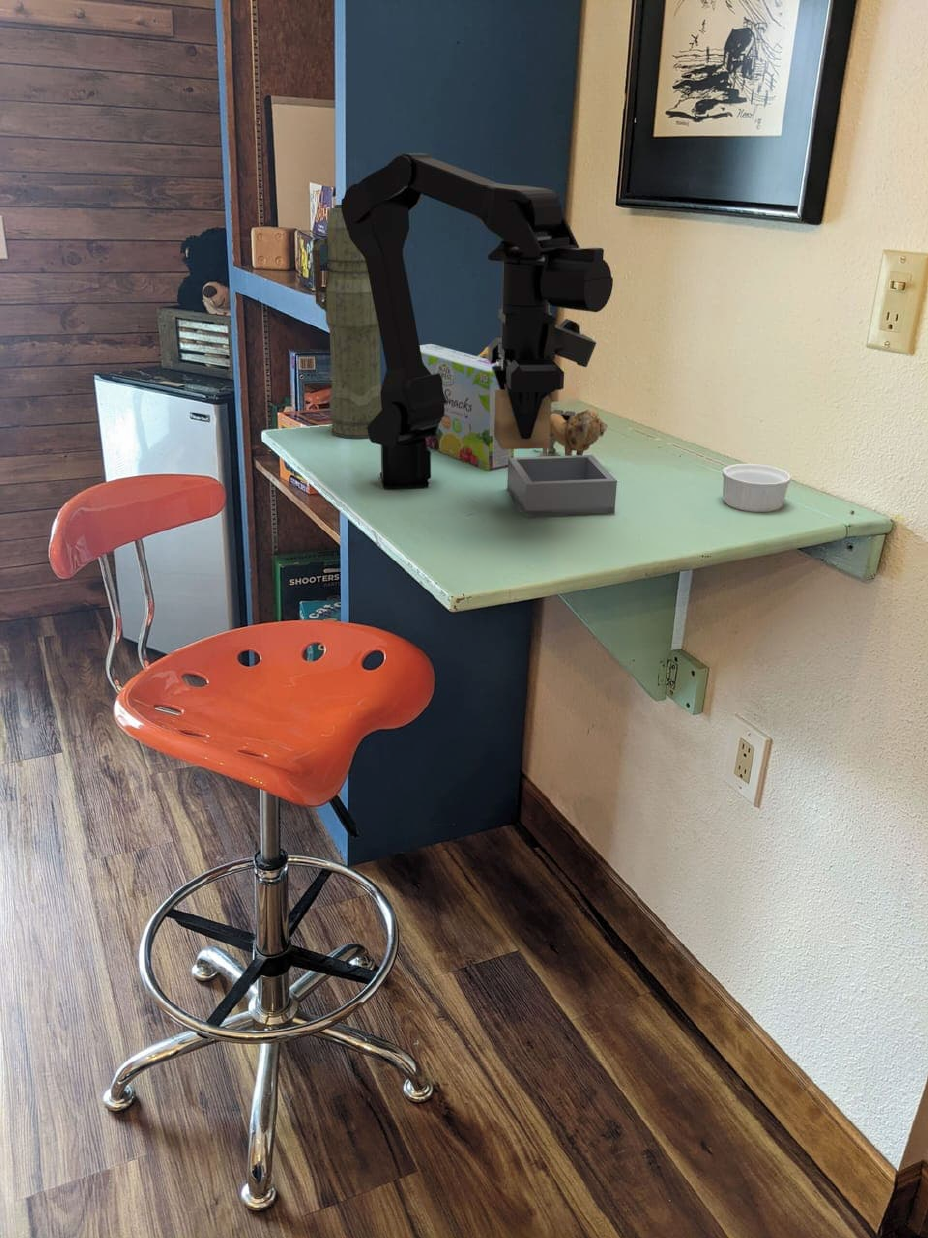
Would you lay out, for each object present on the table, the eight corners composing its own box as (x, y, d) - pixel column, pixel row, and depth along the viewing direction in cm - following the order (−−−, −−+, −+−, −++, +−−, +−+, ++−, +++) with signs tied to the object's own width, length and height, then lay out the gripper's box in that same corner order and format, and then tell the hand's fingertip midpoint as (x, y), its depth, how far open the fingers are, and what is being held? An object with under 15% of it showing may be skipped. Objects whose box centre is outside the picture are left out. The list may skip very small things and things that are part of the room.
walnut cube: (501, 449, 124) (502, 400, 121) (494, 436, 129) (495, 389, 127) (549, 447, 125) (551, 399, 122) (539, 435, 130) (541, 388, 127)
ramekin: (786, 497, 139) (791, 466, 137) (786, 517, 132) (791, 485, 130) (721, 490, 141) (725, 460, 140) (717, 510, 134) (720, 479, 132)
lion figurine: (609, 470, 149) (613, 410, 146) (582, 476, 147) (586, 415, 143) (545, 448, 160) (547, 391, 156) (519, 453, 157) (521, 395, 153)
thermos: (318, 427, 170) (306, 203, 155) (387, 423, 173) (381, 203, 158) (326, 441, 162) (314, 207, 147) (397, 436, 165) (393, 206, 150)
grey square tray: (524, 517, 130) (526, 484, 128) (507, 488, 141) (508, 457, 139) (614, 513, 132) (616, 480, 130) (590, 485, 143) (592, 454, 141)
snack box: (405, 440, 163) (404, 346, 157) (433, 435, 166) (433, 342, 160) (487, 472, 148) (489, 369, 142) (516, 466, 151) (519, 364, 145)
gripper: (612, 314, 112) (602, 451, 119) (574, 292, 129) (568, 412, 136) (513, 315, 111) (509, 453, 118) (488, 292, 128) (486, 414, 134)
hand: (521, 432), depth 126 cm, fingers closed on walnut cube, 6 cm apart
